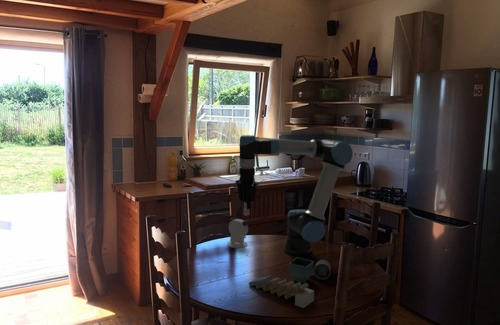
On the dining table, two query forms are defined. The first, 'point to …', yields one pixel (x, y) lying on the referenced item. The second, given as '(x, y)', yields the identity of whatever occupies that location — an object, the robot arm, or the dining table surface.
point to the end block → (304, 297)
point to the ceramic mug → (321, 269)
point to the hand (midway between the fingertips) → (246, 214)
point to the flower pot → (301, 269)
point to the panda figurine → (238, 232)
